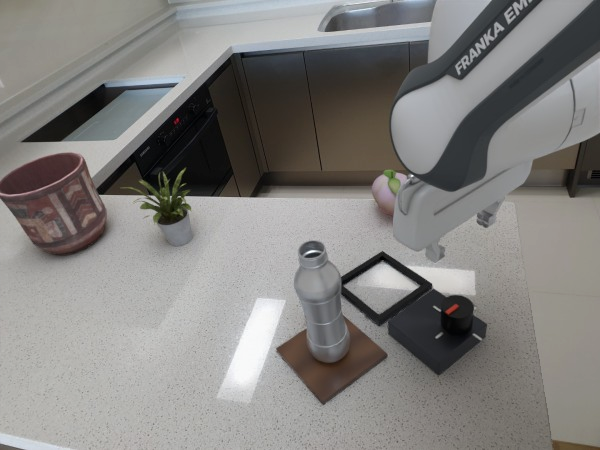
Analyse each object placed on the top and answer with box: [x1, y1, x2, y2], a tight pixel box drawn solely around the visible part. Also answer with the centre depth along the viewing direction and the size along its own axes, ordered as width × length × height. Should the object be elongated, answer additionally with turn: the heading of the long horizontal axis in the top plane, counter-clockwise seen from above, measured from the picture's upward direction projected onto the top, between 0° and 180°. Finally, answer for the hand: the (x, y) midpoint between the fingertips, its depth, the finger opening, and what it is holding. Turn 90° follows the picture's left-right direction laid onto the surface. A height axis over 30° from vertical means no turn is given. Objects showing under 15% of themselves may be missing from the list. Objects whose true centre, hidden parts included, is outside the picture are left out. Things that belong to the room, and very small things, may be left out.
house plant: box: [121, 167, 194, 247], centre depth 95 cm, size 14×14×16 cm
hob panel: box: [387, 287, 488, 376], centre depth 68 cm, size 11×11×3 cm
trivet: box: [275, 314, 388, 405], centre depth 69 cm, size 12×12×1 cm
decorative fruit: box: [371, 169, 408, 216], centre depth 93 cm, size 9×8×10 cm
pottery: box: [0, 151, 108, 256], centre depth 101 cm, size 18×18×18 cm
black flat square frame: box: [341, 250, 433, 327], centre depth 79 cm, size 12×12×1 cm
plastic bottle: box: [293, 239, 350, 363], centre depth 63 cm, size 6×7×20 cm
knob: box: [441, 294, 475, 334], centre depth 66 cm, size 4×4×4 cm
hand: (461, 240), depth 58 cm, fingers open, 8 cm apart
